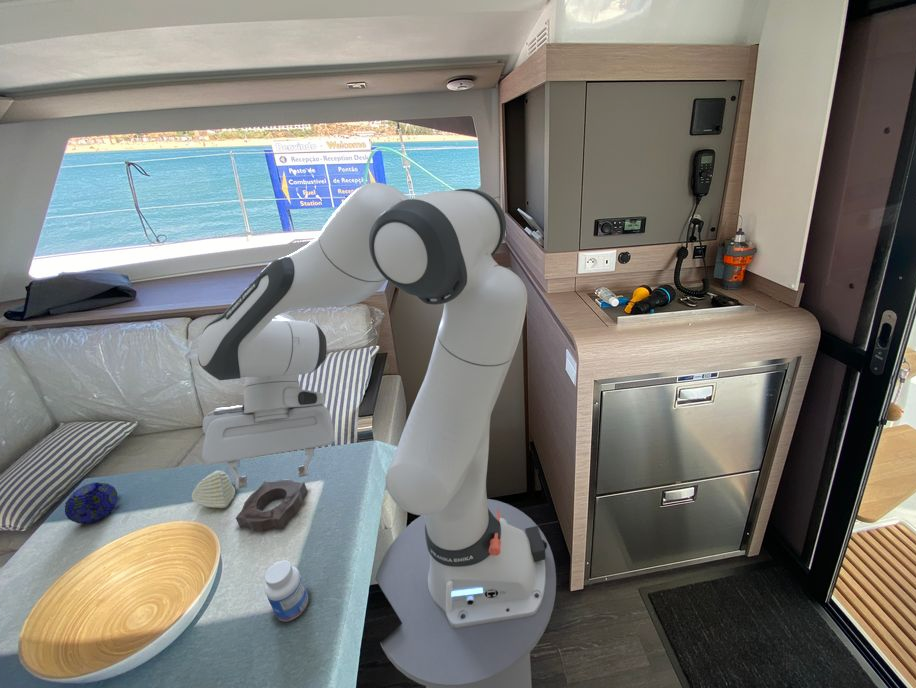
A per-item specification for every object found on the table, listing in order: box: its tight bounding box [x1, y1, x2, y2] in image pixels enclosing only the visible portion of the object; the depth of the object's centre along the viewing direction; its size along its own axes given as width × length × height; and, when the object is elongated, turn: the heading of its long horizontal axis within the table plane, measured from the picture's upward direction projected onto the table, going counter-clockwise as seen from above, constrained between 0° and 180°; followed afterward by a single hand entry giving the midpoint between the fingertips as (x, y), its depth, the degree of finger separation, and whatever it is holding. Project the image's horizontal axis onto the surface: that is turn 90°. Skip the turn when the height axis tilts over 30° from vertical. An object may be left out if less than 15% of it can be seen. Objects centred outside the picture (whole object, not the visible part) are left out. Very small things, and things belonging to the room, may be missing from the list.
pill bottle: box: [264, 560, 309, 622], centre depth 72 cm, size 6×5×10 cm
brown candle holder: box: [235, 478, 308, 532], centre depth 93 cm, size 11×11×3 cm
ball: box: [64, 482, 119, 524], centre depth 94 cm, size 8×8×8 cm
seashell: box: [191, 469, 236, 509], centre depth 97 cm, size 8×8×8 cm
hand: (273, 482), depth 72 cm, fingers open, 8 cm apart
